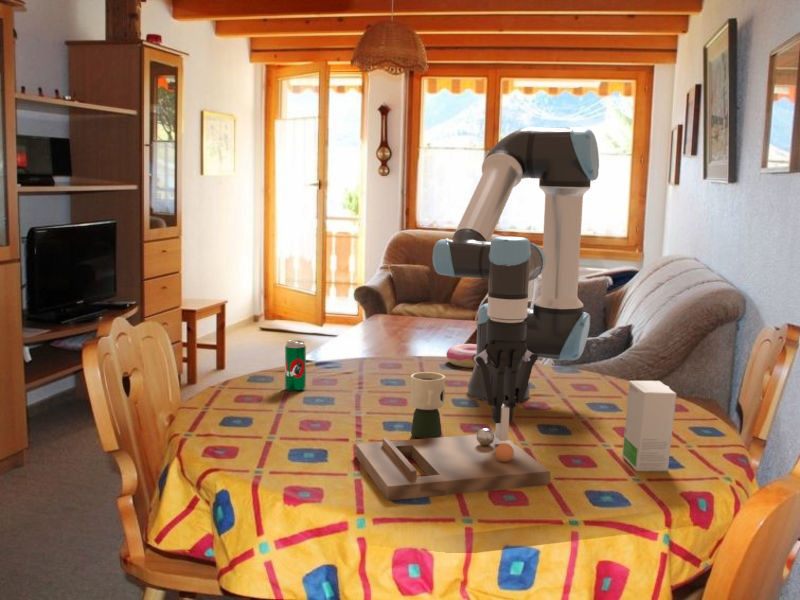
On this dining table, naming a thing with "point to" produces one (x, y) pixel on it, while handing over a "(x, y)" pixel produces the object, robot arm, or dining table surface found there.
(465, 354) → the donut
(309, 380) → the dining table surface
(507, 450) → the rust ball
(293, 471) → the dining table surface
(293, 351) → the soda can
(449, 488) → the walnut board
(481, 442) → the steel ball
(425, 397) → the character mug
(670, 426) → the skincare box
